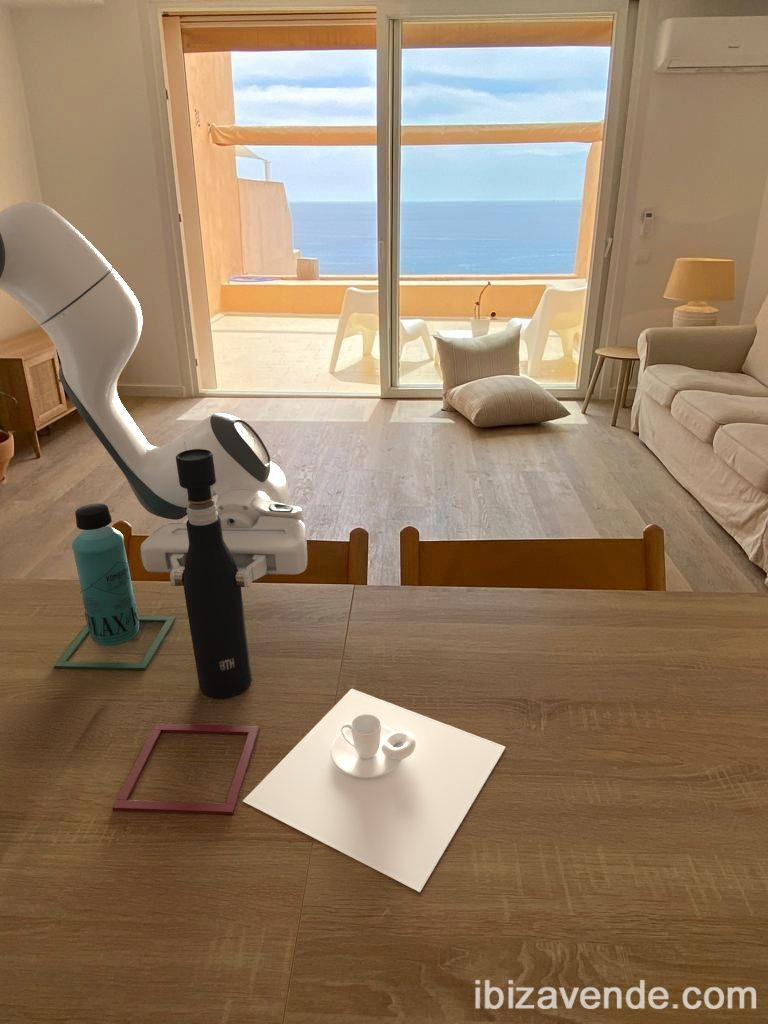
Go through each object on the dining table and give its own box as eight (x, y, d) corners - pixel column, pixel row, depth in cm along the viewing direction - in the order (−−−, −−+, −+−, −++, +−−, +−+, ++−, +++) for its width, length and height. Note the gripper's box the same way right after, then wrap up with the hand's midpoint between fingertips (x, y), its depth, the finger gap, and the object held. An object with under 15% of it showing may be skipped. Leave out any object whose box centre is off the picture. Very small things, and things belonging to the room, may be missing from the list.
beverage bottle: (82, 653, 92) (50, 516, 84) (111, 625, 98) (84, 495, 90) (125, 659, 91) (97, 521, 82) (152, 631, 97) (129, 499, 88)
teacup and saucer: (424, 745, 76) (424, 716, 74) (387, 795, 69) (386, 764, 68) (356, 718, 80) (355, 690, 78) (315, 763, 74) (313, 733, 72)
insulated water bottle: (224, 661, 90) (194, 441, 78) (262, 676, 87) (237, 450, 75) (188, 688, 85) (149, 458, 73) (227, 706, 82) (194, 469, 70)
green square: (54, 668, 89) (53, 665, 89) (94, 617, 100) (94, 614, 100) (145, 670, 89) (144, 668, 88) (176, 618, 99) (175, 616, 99)
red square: (112, 810, 68) (112, 807, 68) (155, 726, 79) (155, 723, 79) (232, 814, 68) (232, 811, 67) (259, 728, 79) (259, 726, 78)
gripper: (158, 506, 91) (115, 555, 78) (313, 507, 90) (295, 558, 77) (165, 548, 94) (125, 603, 81) (316, 550, 92) (298, 606, 80)
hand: (209, 581), depth 79 cm, fingers closed on insulated water bottle, 6 cm apart
